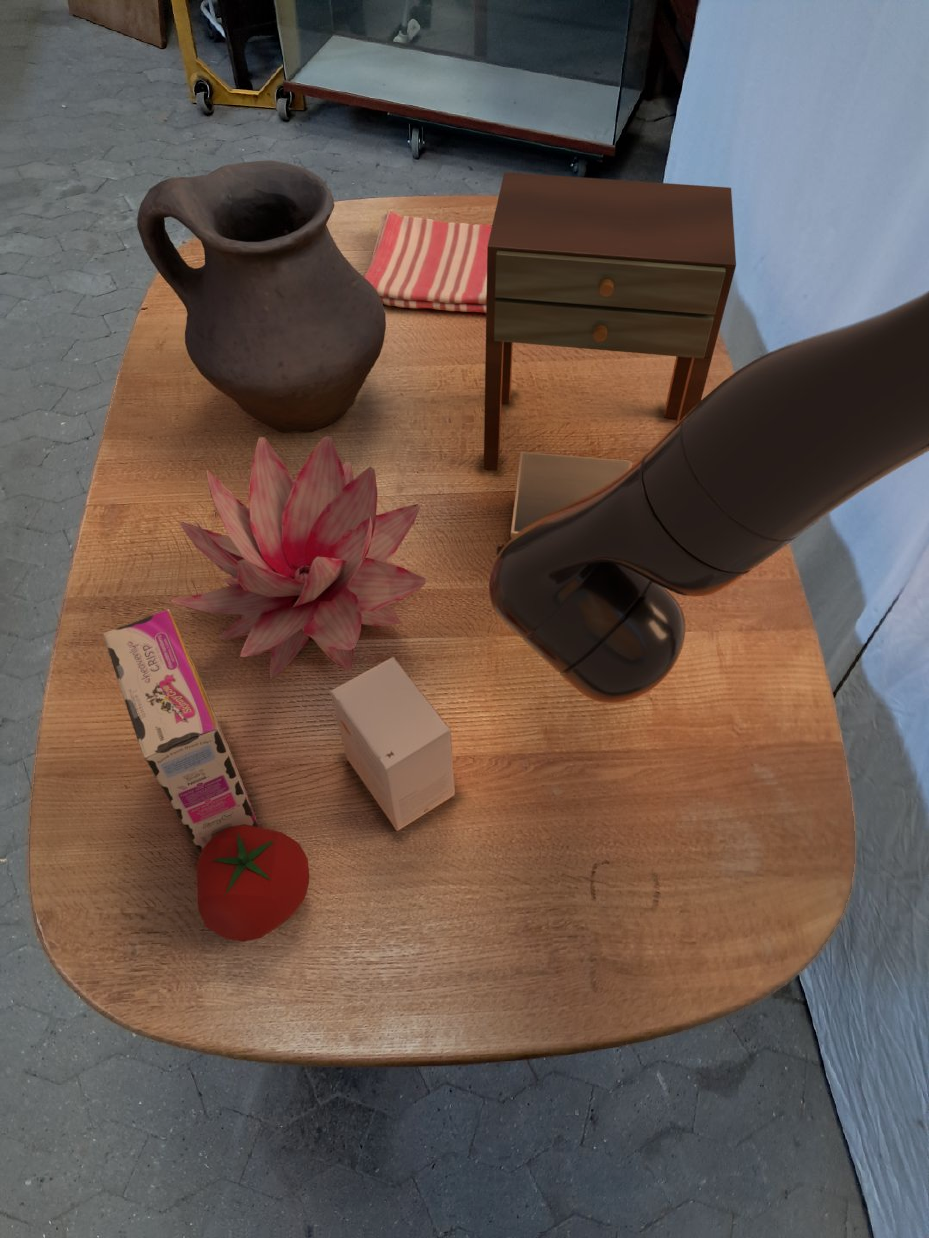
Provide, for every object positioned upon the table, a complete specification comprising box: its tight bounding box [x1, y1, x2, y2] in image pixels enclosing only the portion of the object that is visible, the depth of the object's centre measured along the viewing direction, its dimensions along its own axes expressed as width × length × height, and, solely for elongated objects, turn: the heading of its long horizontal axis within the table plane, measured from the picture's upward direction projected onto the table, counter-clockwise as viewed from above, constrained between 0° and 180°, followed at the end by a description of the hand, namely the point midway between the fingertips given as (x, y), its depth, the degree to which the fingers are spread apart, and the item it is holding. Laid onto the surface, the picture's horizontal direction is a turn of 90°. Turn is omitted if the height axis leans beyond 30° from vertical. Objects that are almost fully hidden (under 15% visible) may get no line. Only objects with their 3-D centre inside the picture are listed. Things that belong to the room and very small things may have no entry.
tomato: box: [196, 824, 310, 943], centre depth 64 cm, size 8×8×7 cm
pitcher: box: [136, 160, 387, 434], centre depth 90 cm, size 21×22×25 cm
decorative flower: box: [170, 435, 427, 680], centre depth 77 cm, size 21×21×15 cm
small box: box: [329, 656, 456, 832], centre depth 69 cm, size 8×6×10 cm
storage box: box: [510, 451, 632, 538], centre depth 85 cm, size 10×10×7 cm
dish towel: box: [363, 210, 492, 314], centre depth 113 cm, size 17×23×4 cm
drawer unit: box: [483, 171, 737, 471], centre depth 86 cm, size 13×20×25 cm
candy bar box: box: [103, 609, 260, 855], centre depth 66 cm, size 11×5×16 cm, turn 27°
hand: (569, 560), depth 81 cm, fingers closed
